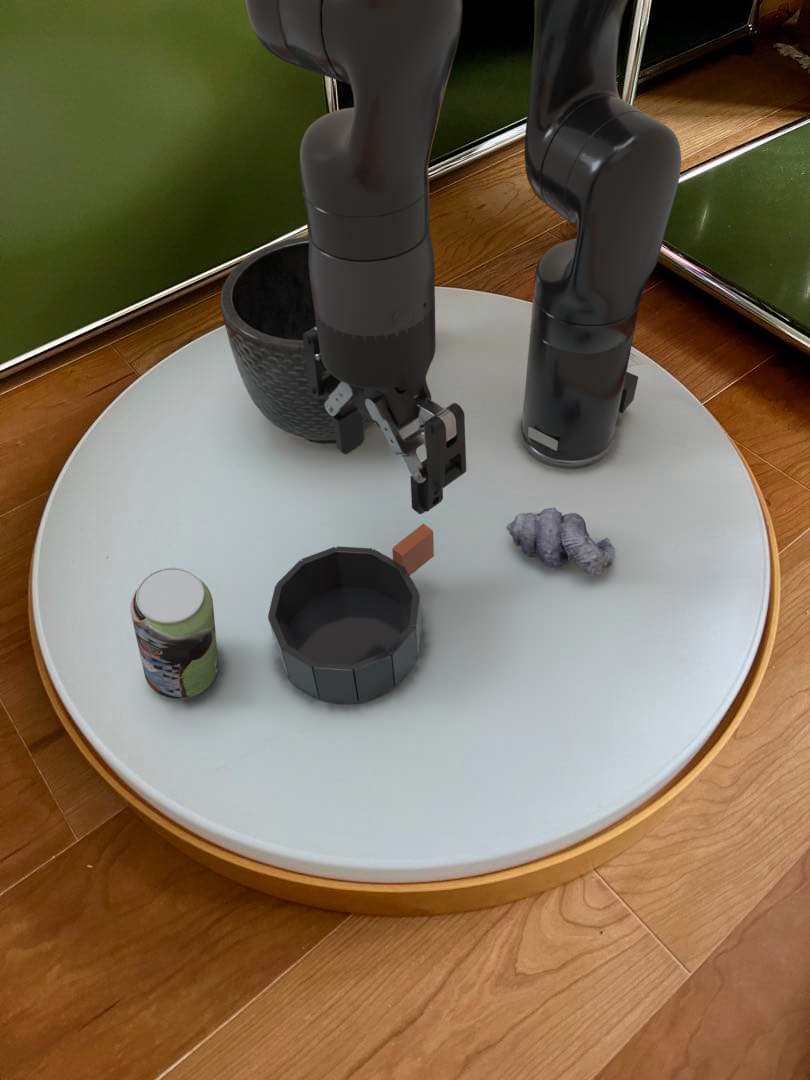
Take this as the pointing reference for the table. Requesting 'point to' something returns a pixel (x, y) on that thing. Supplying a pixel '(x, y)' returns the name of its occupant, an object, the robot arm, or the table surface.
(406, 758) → the table surface
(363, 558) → the dark grey saucepan
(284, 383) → the planter
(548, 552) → the seashell
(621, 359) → the robot arm
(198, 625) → the beverage can
